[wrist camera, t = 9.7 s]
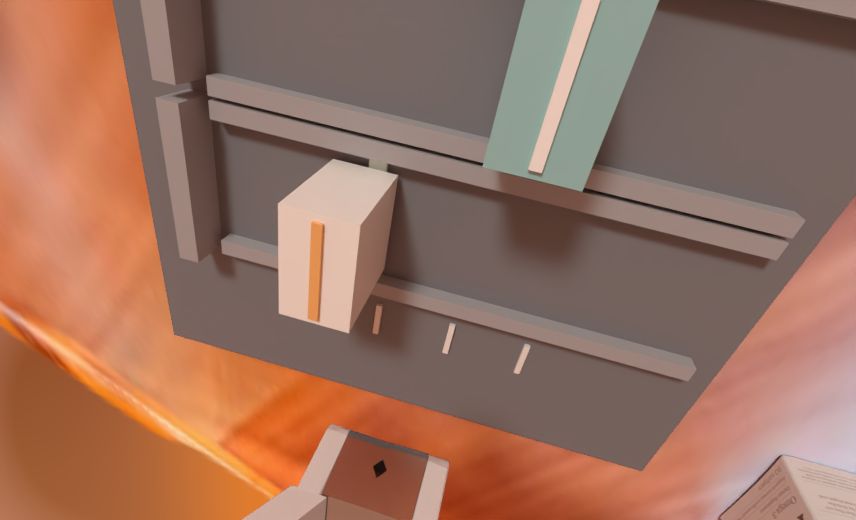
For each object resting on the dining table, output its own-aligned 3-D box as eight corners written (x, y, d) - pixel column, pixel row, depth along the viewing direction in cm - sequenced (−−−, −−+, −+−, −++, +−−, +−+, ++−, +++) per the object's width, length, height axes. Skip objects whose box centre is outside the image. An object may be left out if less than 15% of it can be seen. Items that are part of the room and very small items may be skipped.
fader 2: (623, -5, 14) (662, -6, 10) (570, 143, 17) (582, 193, 13) (533, -24, 15) (533, -33, 10) (494, 125, 17) (481, 168, 13)
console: (944, 9, 15) (1067, 13, 11) (635, 442, 28) (649, 504, 24) (125, -155, 17) (25, -193, 14) (194, 315, 30) (151, 356, 26)
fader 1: (398, 175, 19) (358, 227, 15) (384, 268, 22) (347, 335, 17) (333, 158, 19) (275, 205, 15) (327, 253, 22) (277, 315, 18)
